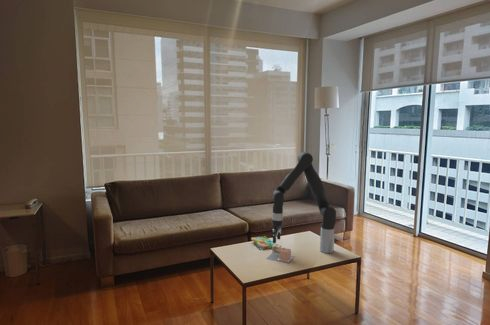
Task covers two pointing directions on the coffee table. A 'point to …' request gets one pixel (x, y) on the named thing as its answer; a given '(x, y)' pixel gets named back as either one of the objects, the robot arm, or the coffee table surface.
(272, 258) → the blueprint board
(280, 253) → the terracotta base block
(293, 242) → the coffee table surface
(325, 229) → the robot arm
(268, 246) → the puzzle game
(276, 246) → the maple cube
